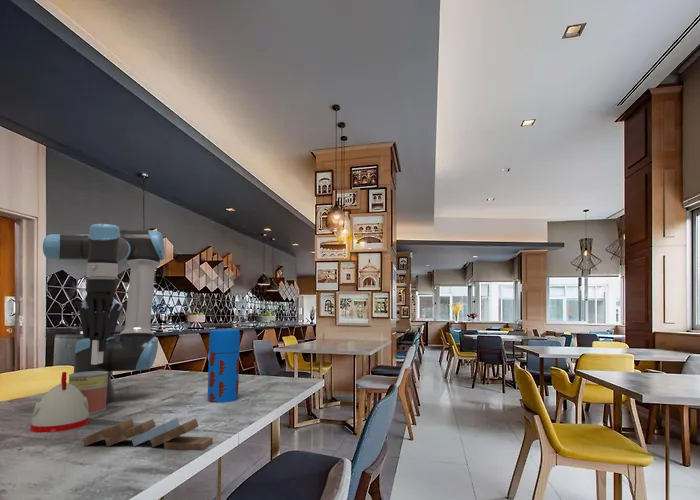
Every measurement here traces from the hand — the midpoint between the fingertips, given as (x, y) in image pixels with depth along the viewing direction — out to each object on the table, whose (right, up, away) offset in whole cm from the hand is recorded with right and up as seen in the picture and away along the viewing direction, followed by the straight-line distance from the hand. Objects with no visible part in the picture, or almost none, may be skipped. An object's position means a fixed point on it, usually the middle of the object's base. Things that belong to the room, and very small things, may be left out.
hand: (97, 363), depth 116 cm
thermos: (+24, -24, +37) cm, 50 cm away
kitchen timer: (-14, -20, +5) cm, 25 cm away
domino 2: (+11, -16, -11) cm, 22 cm away
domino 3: (+17, -16, -11) cm, 26 cm away
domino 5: (+26, -16, -13) cm, 33 cm away
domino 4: (+23, -16, -12) cm, 30 cm away
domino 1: (+5, -16, -11) cm, 20 cm away
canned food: (-17, -22, +22) cm, 36 cm away
